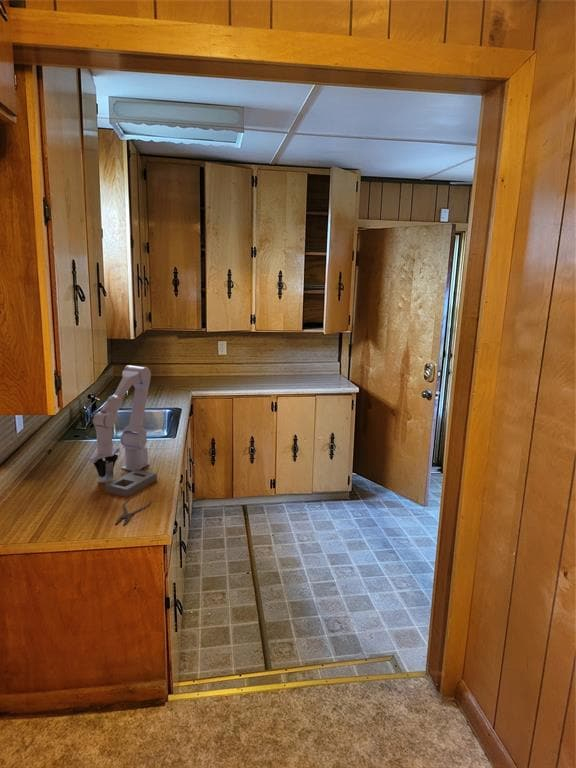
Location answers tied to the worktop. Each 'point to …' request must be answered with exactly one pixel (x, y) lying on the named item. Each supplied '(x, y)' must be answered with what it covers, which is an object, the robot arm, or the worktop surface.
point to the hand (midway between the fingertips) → (105, 474)
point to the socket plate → (130, 482)
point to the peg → (107, 473)
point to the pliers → (128, 516)
